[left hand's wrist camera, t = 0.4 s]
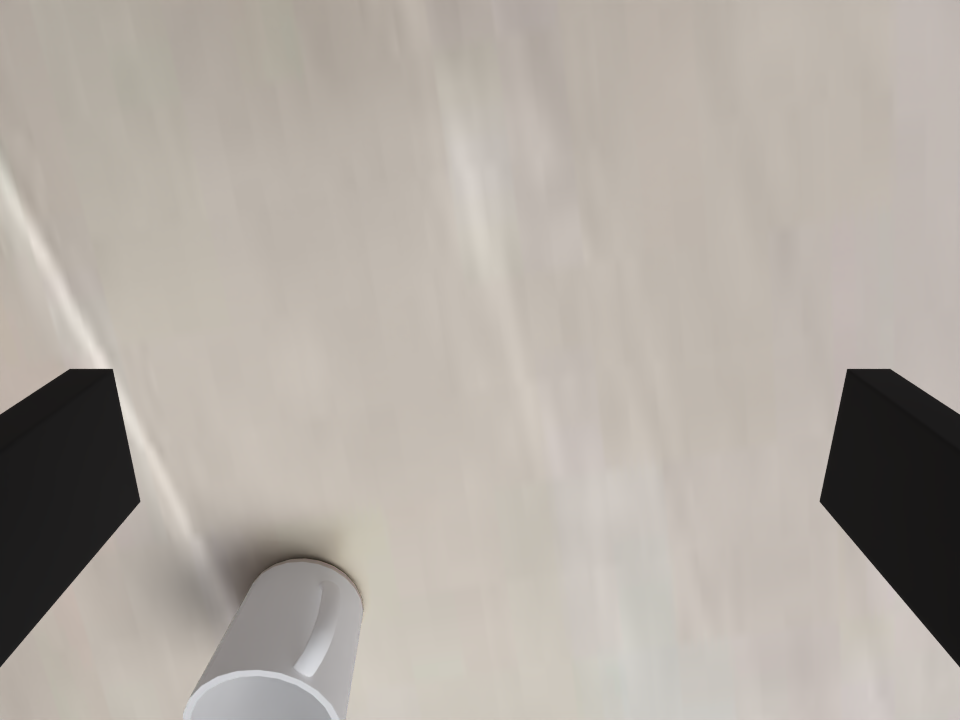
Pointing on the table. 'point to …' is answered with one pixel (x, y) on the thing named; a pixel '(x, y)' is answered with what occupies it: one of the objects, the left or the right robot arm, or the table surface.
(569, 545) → the table surface
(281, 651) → the mug
